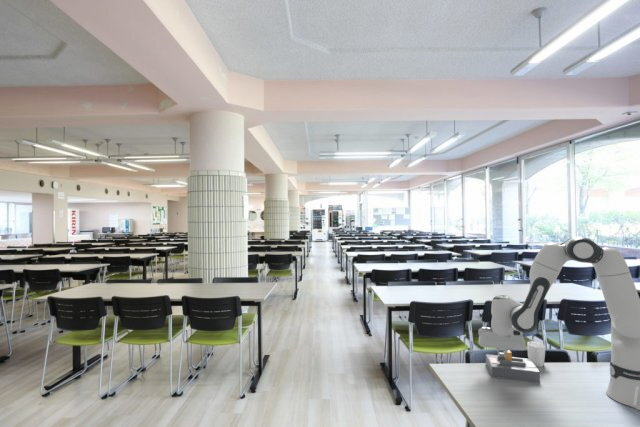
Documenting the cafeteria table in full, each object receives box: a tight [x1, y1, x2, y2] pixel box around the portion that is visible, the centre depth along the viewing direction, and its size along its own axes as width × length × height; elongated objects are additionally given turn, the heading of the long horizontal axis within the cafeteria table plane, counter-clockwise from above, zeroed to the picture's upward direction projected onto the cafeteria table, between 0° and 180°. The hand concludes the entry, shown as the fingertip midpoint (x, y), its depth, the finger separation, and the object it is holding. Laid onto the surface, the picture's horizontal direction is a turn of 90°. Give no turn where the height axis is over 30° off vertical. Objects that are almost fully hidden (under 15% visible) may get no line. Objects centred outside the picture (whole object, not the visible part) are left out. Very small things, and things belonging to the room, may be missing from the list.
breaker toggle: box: [505, 349, 513, 361], centre depth 163 cm, size 2×3×5 cm, turn 164°
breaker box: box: [485, 353, 541, 384], centre depth 162 cm, size 20×14×7 cm
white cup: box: [526, 341, 546, 368], centre depth 172 cm, size 8×8×10 cm
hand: (501, 356), depth 163 cm, fingers closed
